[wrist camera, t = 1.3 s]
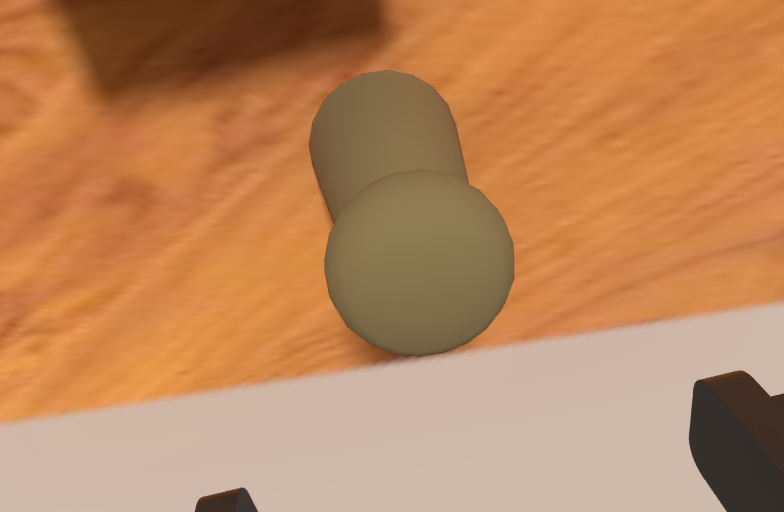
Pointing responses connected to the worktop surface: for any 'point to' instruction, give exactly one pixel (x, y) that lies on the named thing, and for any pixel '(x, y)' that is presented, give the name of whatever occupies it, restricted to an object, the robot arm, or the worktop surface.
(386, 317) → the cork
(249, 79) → the worktop surface
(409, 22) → the worktop surface
